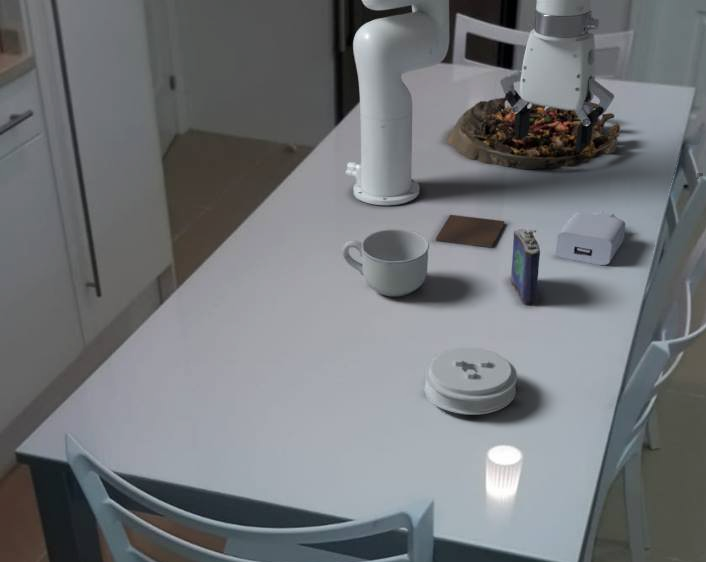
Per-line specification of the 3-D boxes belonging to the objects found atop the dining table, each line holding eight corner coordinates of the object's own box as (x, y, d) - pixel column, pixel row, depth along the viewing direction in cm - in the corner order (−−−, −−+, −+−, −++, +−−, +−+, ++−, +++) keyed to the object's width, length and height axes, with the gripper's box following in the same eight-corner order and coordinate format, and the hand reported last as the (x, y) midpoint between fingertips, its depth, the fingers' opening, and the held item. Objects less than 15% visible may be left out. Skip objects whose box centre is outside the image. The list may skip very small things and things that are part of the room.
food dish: (640, 135, 231) (646, 98, 226) (577, 192, 210) (583, 153, 205) (492, 102, 245) (495, 67, 240) (419, 152, 224) (421, 115, 219)
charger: (631, 231, 192) (608, 266, 182) (580, 222, 196) (555, 256, 185) (635, 205, 189) (612, 240, 179) (583, 197, 193) (558, 230, 182)
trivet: (435, 240, 191) (435, 237, 190) (450, 217, 198) (450, 214, 198) (491, 247, 188) (491, 244, 188) (504, 224, 196) (504, 220, 195)
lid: (450, 429, 146) (451, 398, 142) (409, 382, 155) (409, 352, 152) (532, 406, 149) (535, 376, 146) (487, 362, 159) (489, 332, 156)
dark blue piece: (508, 279, 179) (512, 218, 172) (525, 277, 179) (531, 216, 173) (522, 306, 172) (528, 243, 165) (540, 304, 172) (547, 242, 165)
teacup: (437, 279, 179) (439, 234, 174) (412, 309, 172) (413, 263, 167) (361, 265, 184) (360, 220, 179) (333, 293, 176) (331, 247, 171)
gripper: (630, 24, 151) (615, 145, 161) (517, 9, 159) (509, 126, 169) (610, 38, 146) (596, 162, 156) (494, 22, 154) (487, 141, 164)
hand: (551, 143), depth 163 cm, fingers open, 9 cm apart
